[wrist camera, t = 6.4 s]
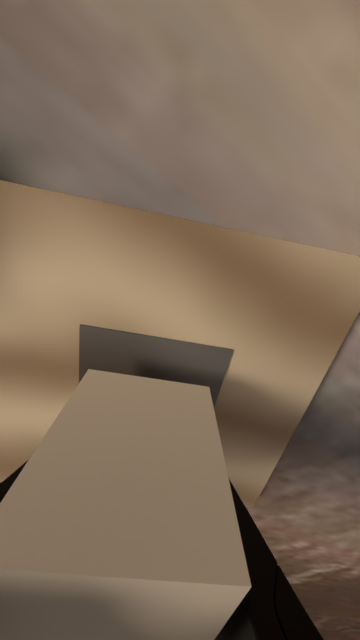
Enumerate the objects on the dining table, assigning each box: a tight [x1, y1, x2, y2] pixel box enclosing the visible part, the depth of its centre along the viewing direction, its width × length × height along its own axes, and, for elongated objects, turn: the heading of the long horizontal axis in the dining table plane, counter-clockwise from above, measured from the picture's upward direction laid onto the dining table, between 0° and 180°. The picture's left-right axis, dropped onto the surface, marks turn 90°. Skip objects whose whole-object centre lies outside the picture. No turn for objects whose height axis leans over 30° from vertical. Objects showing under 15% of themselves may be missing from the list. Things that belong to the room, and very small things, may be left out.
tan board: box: [0, 180, 360, 507], centre depth 11 cm, size 16×16×1 cm
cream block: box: [0, 369, 251, 640], centre depth 6 cm, size 5×5×5 cm
